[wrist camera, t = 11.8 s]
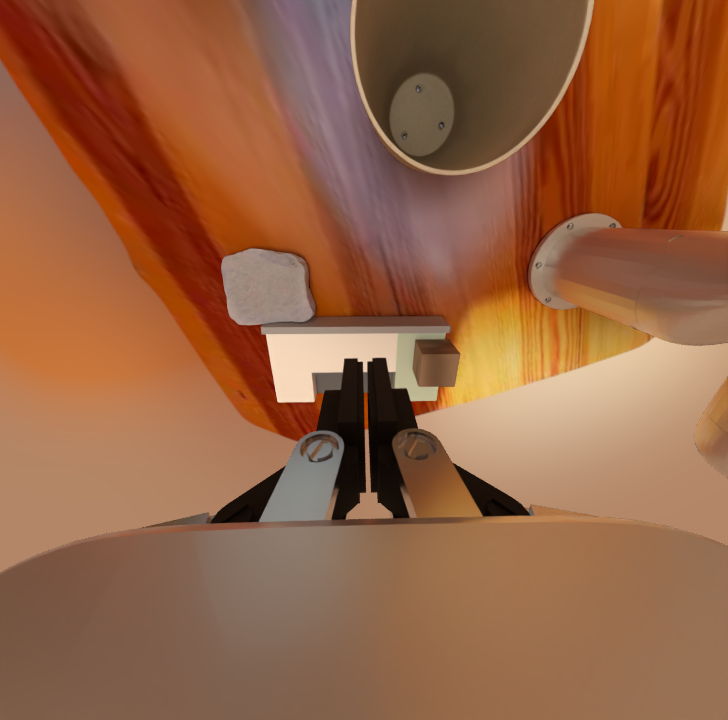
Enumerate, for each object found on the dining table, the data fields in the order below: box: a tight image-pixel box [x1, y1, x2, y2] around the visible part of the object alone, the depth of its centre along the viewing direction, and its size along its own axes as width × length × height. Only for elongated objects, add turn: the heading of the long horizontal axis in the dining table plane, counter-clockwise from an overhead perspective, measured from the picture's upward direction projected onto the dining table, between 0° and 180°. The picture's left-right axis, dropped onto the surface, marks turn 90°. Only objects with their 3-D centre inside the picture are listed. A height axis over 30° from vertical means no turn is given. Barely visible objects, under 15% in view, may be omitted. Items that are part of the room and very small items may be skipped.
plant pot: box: [350, 0, 594, 175], centre depth 24 cm, size 15×15×16 cm
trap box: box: [261, 316, 451, 402], centre depth 43 cm, size 26×14×4 cm, turn 90°
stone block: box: [221, 248, 316, 325], centre depth 39 cm, size 12×5×10 cm
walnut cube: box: [412, 339, 460, 387], centre depth 40 cm, size 5×5×5 cm
